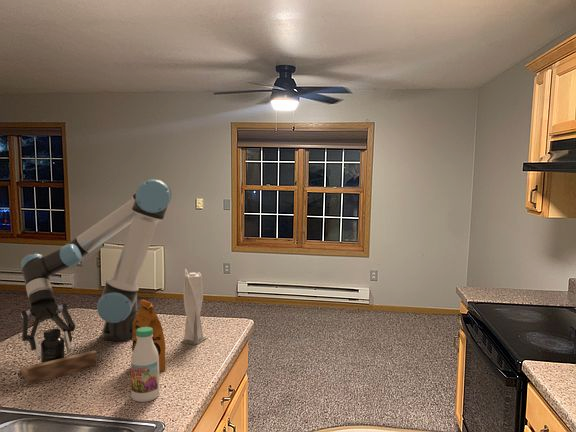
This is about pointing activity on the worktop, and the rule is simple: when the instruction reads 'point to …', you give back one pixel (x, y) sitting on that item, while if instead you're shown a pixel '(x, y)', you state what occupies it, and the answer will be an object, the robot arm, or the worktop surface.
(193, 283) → the skyscraper
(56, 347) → the supplement bottle
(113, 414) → the worktop surface
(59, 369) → the walnut shelf
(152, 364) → the milk bottle
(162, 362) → the orange brown carved sculpture
